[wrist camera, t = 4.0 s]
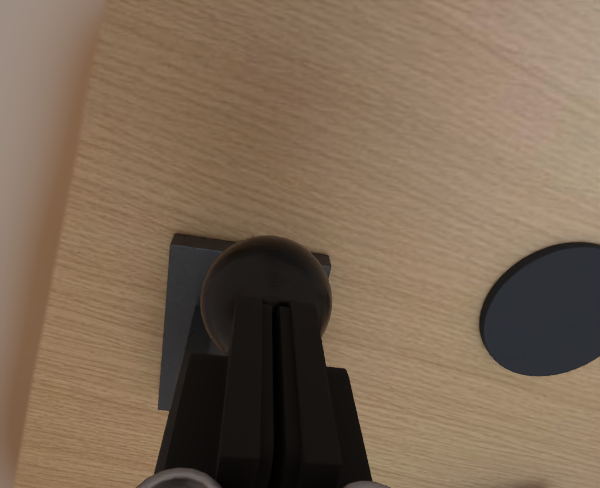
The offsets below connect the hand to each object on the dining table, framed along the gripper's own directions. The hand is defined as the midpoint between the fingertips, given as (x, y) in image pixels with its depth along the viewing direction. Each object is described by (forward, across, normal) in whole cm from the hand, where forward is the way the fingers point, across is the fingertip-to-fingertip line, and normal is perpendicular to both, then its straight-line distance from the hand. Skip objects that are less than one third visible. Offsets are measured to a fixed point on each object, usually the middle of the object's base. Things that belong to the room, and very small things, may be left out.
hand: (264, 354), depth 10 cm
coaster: (+13, -18, +6) cm, 23 cm away
